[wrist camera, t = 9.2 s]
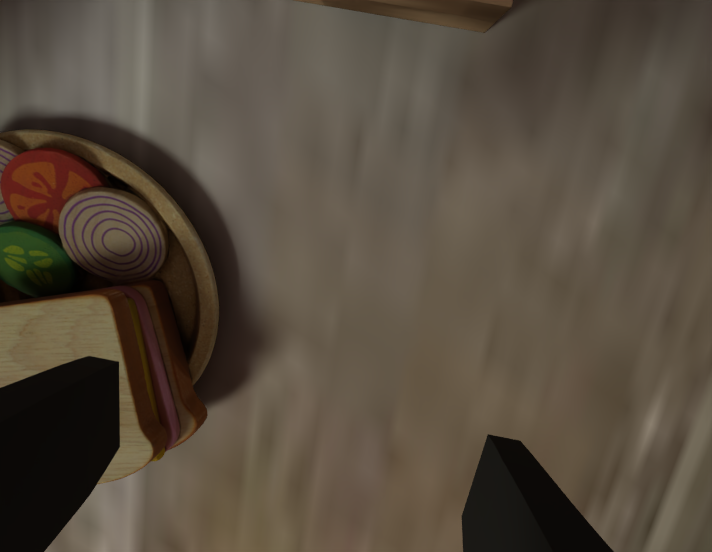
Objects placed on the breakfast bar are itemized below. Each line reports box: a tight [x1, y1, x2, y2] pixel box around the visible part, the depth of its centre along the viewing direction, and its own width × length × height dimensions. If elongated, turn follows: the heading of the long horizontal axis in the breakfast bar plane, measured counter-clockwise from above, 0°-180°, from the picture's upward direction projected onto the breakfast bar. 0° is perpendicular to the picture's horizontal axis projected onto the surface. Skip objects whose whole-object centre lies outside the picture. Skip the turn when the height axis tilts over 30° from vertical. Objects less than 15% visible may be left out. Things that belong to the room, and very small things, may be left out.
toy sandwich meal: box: [0, 129, 219, 484], centre depth 18 cm, size 12×14×5 cm
